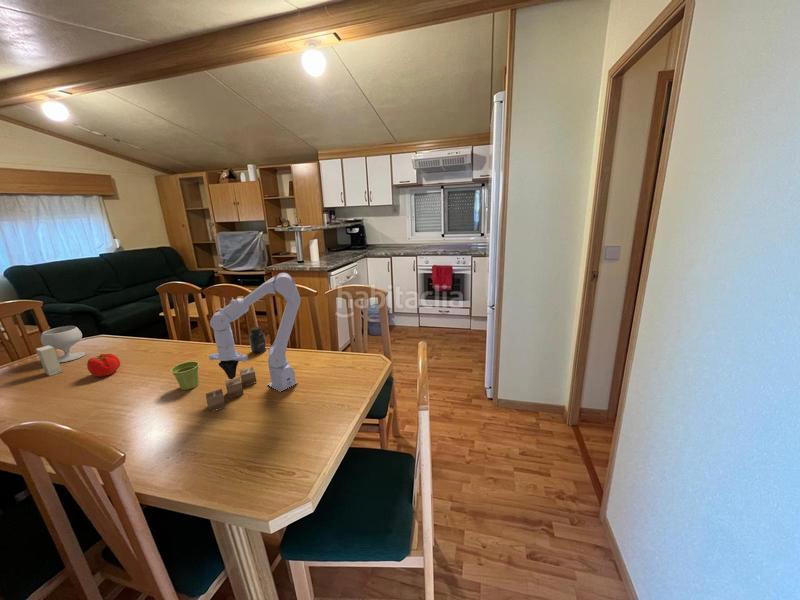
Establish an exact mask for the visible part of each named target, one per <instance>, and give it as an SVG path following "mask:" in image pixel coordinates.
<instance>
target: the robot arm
mask: <svg viewBox="0 0 800 600" xmlns="http://www.w3.org/2000/svg"><path fill="white" fill-rule="evenodd" d="M276 293H278V294H280V295H281V296H282V297H283V299H285V301H286V302H285V303H286V304H285V306H284V311H283V314H282V317H281V319H280V323H279V326H278V329H277V330H278V331H277V334H276V336H275V339H274V341H273V344H272V345H271V346H270V347H269V349H268V358H267V363H268V370H269V376H270V382H269V383H267V386H268V385H269V384H270V385H269V386H270V388H271V387H272V388H271V389H273V388H274V390H275V389H276V390H275V391H277V390H278V391H277V392H279V391H280V392H279V393H282V392H281V391H283V390H285V389H287V388H288V389H290V388H292V387H294V386H295V385H294V384H296V382H297V381H296V374H295V370H294V368H293V367H292V366H291V365H290V364H289V363H290V362H289V360H288V358H287V357H286V356H287V355H286V353H287V348H288V343H289V340H290V336H291V333H292V330H293V327H294V324H295V320H296V317H297V313H298V310H299V308H300V304H301V301H302V300H301V296H300V293H299V290H298V288H297V284H296V281H295V280H294V279H293V277H292V276H291V275H290V274H289V273H286V272H280V273H278V274H277V275H275V276H273V277H271V278H270V279H268V280H266V281H265V282H263V283H262V284H260V285H259V286H258V287H257V288H255V289H254V290H253V291H252V292H250V293H249V294H248V295H246V296H245V297H244V298H238V297H237V298H236V299H234V298H233V299H231V300H230V301H229V303H228V304H227V305H226V306H224V307H223V308H222V307H221V308H219V309H218V311H217V312H215V313H214V314H213V315H212V317H211V319H210V320H209V325H210V327H211V328H212V329H213V334H214V335H213V336H214V339H215V340H214V341H215V345H216V350H217V352H215V353H210V354H209V355H208V359H209V361H220V362H219V363H218V366H219V367H220V368H221V369H222V370H223V371H224V372H225V375H226V376H227V378H228V380H231V379H235V378H237V377H236V374H237V367H238V364H239V362H242V363H246V362H247V361H248V360H249V359H248V354H244V353H239V352H238V350H236V345H235V340H234V334H233V330H232V327H231V322H232V323H233V322H235V321H237V319H239V318H241V317H242V316H243V315H245V314H246V313H247V312H249V309H250V306H251V305H252V304H254V303H256V302H257V301H259V300H260V299H261V298H263V297H264V296H266V295H271V294H272V295H275V294H276ZM293 385H294V386H293ZM296 385H297V384H296ZM269 386H268V387H269ZM291 386H292V387H291ZM289 387H290V388H289ZM288 389H287V390H288ZM285 391H286V390H285ZM283 392H284V391H283Z"/></svg>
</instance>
